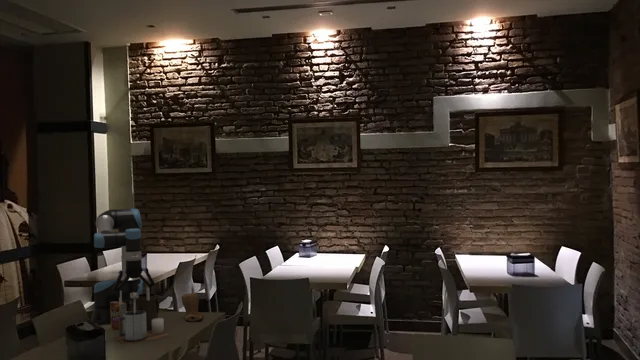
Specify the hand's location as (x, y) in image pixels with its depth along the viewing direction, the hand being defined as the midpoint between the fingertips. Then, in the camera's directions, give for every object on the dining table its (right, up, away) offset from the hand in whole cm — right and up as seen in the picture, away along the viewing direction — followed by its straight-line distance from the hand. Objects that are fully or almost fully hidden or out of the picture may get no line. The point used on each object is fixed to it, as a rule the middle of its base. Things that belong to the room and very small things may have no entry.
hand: (134, 301), depth 280 cm
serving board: (+3, -20, +3) cm, 20 cm away
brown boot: (+19, -20, +44) cm, 52 cm away
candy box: (-16, -21, +22) cm, 34 cm away
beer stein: (+1, -20, +22) cm, 30 cm away
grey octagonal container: (0, -19, 0) cm, 18 cm away
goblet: (0, -16, 0) cm, 16 cm away
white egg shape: (+9, -18, +10) cm, 23 cm away
